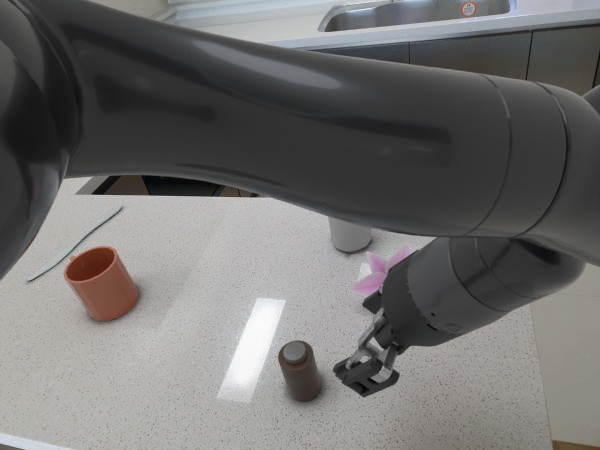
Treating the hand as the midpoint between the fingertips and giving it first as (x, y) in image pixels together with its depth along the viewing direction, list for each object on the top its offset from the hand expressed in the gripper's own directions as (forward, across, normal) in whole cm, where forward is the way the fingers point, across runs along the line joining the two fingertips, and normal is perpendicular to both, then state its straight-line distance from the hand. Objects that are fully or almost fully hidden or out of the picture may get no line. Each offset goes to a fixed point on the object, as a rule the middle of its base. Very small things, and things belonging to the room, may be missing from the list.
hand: (356, 339), depth 50 cm
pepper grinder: (+20, 0, +2) cm, 20 cm away
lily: (+18, -19, +9) cm, 27 cm away
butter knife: (+62, -14, -49) cm, 80 cm away
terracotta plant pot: (+47, -3, -32) cm, 57 cm away
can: (+26, -31, 0) cm, 40 cm away
